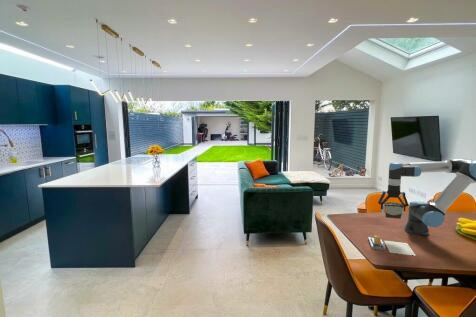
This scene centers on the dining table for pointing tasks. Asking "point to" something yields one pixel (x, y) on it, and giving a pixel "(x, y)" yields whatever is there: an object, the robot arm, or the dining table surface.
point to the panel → (375, 246)
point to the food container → (393, 210)
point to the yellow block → (377, 239)
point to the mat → (399, 248)
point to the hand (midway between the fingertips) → (392, 214)
